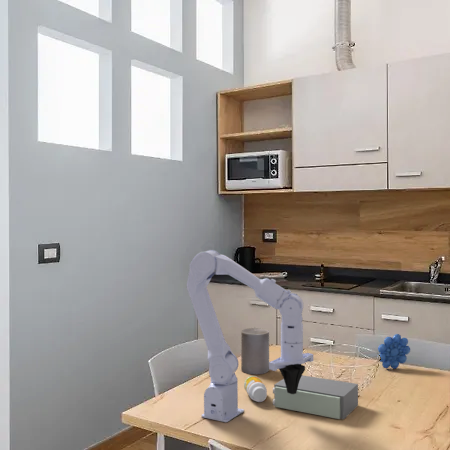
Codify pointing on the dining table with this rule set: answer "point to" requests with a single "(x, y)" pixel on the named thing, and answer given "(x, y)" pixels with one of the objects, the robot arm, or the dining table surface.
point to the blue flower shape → (393, 351)
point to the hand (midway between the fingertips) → (291, 392)
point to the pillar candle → (255, 351)
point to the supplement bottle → (255, 388)
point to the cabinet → (329, 391)
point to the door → (307, 402)
